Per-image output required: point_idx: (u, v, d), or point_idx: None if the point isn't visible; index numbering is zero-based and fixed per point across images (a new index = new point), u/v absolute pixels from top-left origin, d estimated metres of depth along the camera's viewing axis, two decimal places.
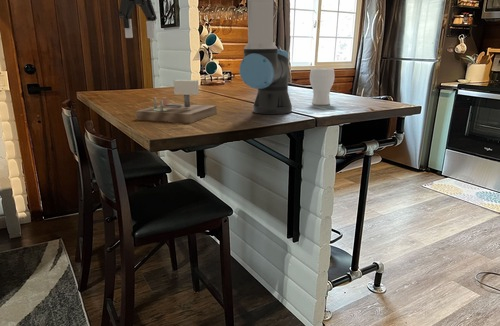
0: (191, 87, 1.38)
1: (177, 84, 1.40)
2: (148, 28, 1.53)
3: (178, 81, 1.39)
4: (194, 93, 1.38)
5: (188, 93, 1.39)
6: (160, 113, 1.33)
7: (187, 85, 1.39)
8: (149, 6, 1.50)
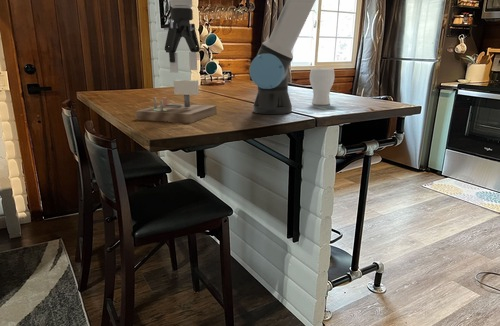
0: (191, 87, 1.38)
1: (177, 84, 1.40)
2: (191, 59, 1.43)
3: (178, 81, 1.39)
4: (194, 93, 1.38)
5: (188, 93, 1.39)
6: (160, 113, 1.33)
7: (187, 85, 1.39)
8: (193, 37, 1.41)
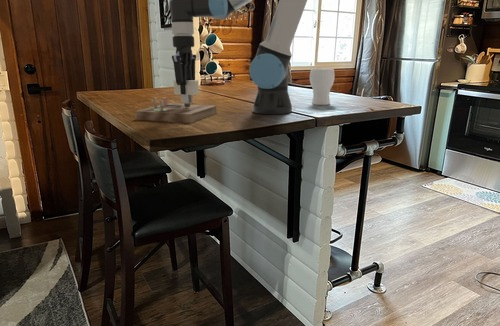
0: (191, 87, 1.38)
1: None
2: None
3: None
4: (194, 93, 1.38)
5: (188, 93, 1.39)
6: (160, 113, 1.33)
7: None
8: (191, 66, 1.42)
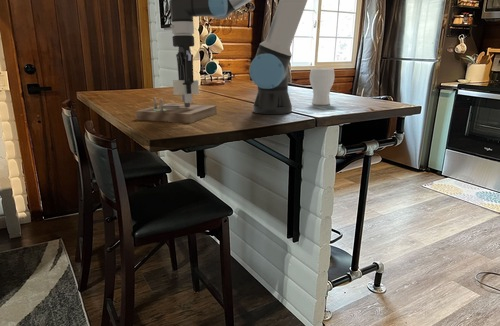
0: (193, 87, 1.39)
1: (177, 84, 1.39)
2: None
3: (179, 81, 1.38)
4: (197, 92, 1.40)
5: None
6: (160, 113, 1.33)
7: None
8: None
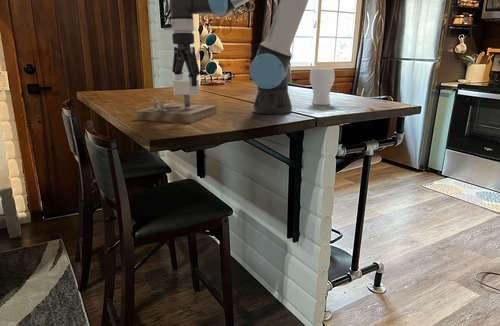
0: None
1: (178, 84, 1.38)
2: None
3: (180, 82, 1.38)
4: None
5: None
6: (160, 113, 1.33)
7: None
8: None
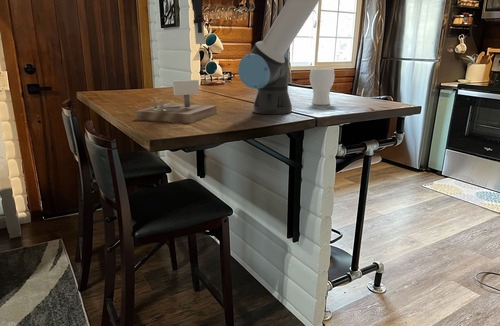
0: (194, 86, 1.40)
1: (178, 84, 1.38)
2: None
3: (180, 82, 1.38)
4: (197, 92, 1.41)
5: (191, 92, 1.40)
6: (160, 113, 1.33)
7: (190, 85, 1.39)
8: None
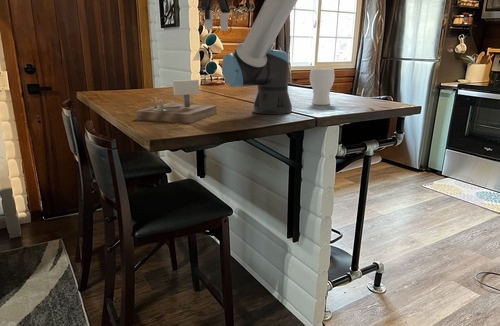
0: (194, 86, 1.40)
1: (178, 84, 1.38)
2: (222, 20, 1.52)
3: (180, 82, 1.38)
4: (197, 92, 1.41)
5: (191, 92, 1.40)
6: (160, 113, 1.33)
7: (190, 85, 1.39)
8: None
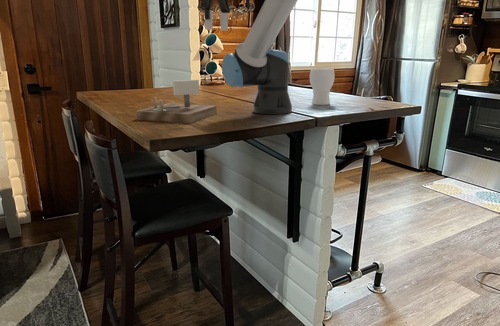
0: (194, 86, 1.40)
1: (178, 84, 1.38)
2: (222, 20, 1.52)
3: (180, 82, 1.38)
4: (197, 92, 1.41)
5: (191, 92, 1.40)
6: (160, 113, 1.33)
7: (190, 85, 1.39)
8: None
